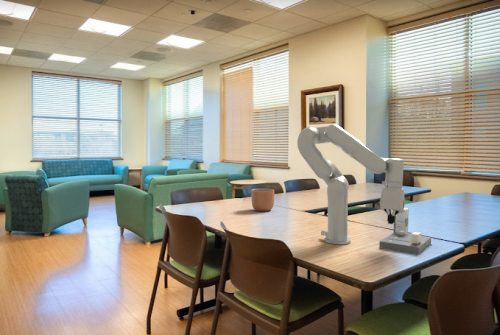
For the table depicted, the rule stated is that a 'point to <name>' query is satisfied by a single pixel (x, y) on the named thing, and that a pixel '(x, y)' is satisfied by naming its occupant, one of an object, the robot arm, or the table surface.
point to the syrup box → (401, 221)
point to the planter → (262, 199)
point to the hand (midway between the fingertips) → (390, 223)
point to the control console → (404, 243)
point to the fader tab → (416, 237)
